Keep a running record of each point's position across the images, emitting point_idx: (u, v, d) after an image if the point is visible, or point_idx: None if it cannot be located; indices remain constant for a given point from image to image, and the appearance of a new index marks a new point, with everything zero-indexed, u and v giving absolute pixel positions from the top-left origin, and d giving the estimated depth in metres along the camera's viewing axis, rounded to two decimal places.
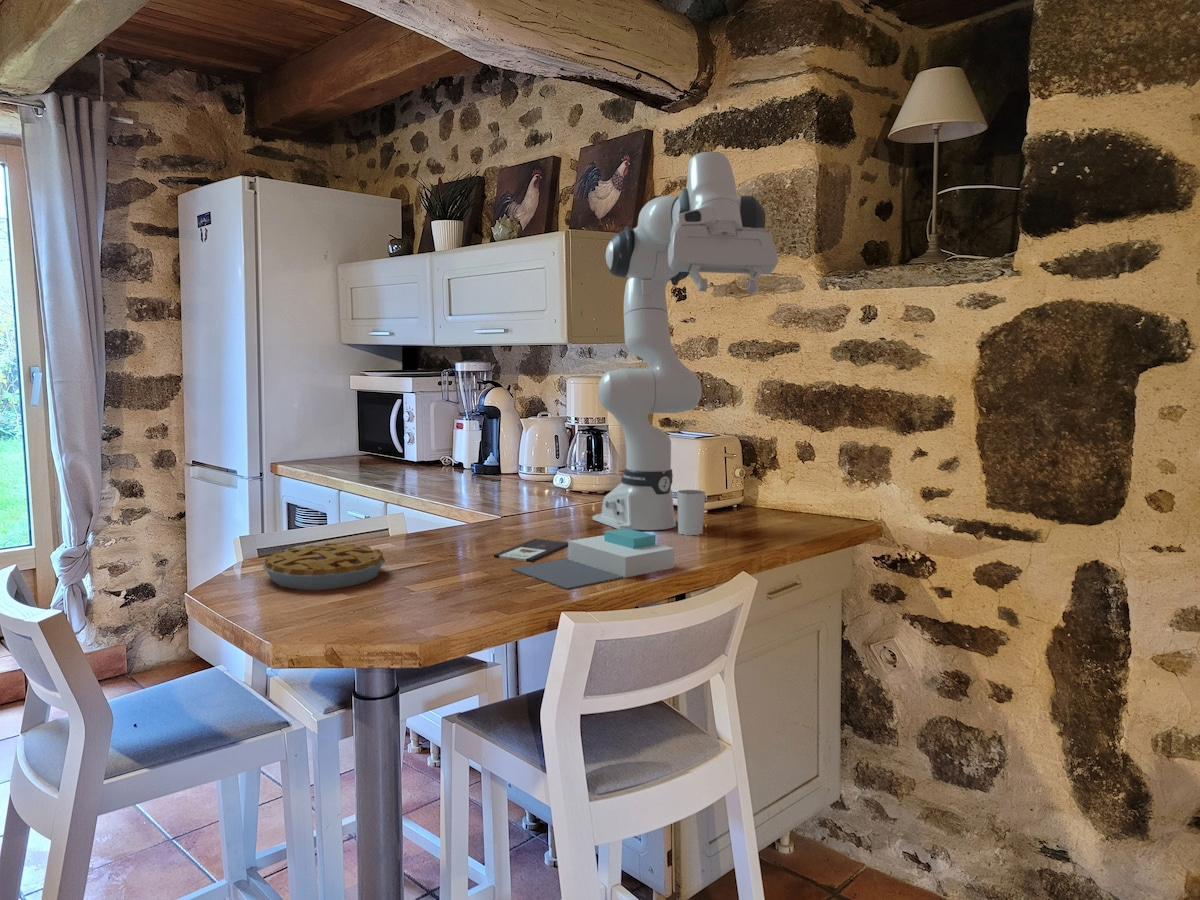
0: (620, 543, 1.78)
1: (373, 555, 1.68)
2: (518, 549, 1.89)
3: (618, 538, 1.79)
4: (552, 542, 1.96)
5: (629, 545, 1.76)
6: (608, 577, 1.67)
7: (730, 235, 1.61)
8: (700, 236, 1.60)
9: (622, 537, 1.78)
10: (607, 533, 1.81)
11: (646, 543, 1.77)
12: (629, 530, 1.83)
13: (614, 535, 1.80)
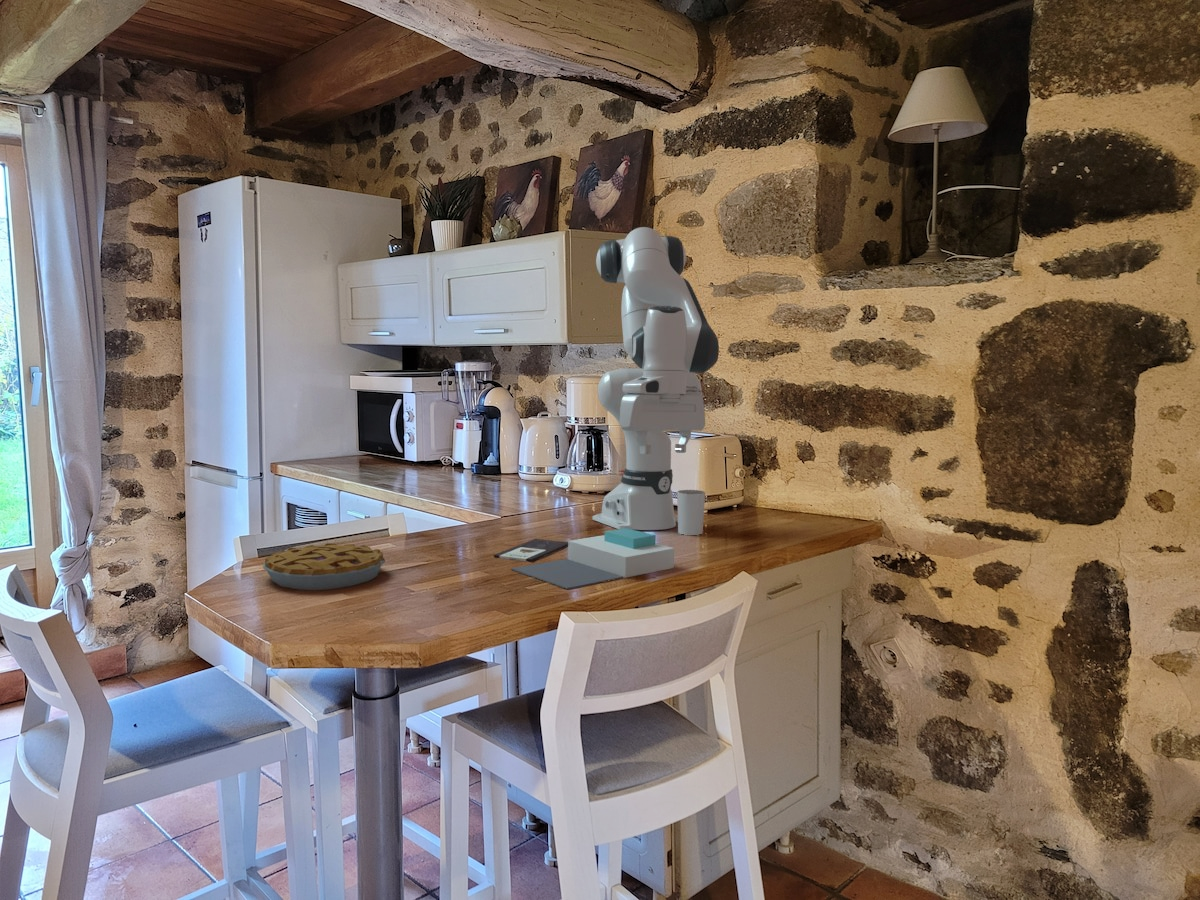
0: (620, 543, 1.78)
1: (373, 555, 1.68)
2: (518, 549, 1.89)
3: (618, 538, 1.79)
4: (552, 542, 1.96)
5: (629, 545, 1.76)
6: (608, 577, 1.67)
7: (675, 402, 1.78)
8: (652, 403, 1.75)
9: (622, 537, 1.78)
10: (607, 533, 1.81)
11: (646, 543, 1.77)
12: (629, 530, 1.83)
13: (614, 535, 1.80)
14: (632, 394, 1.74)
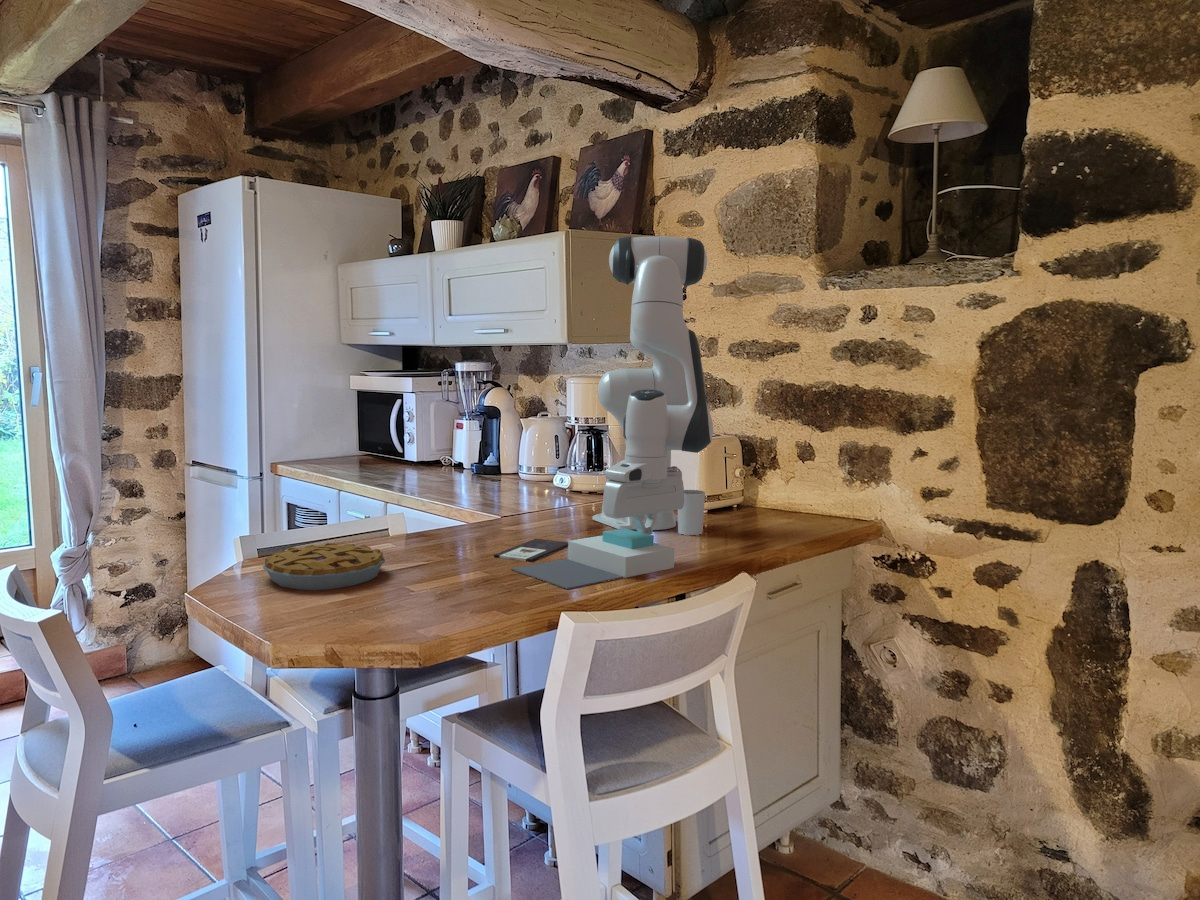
0: (618, 543, 1.78)
1: (373, 555, 1.68)
2: (518, 549, 1.89)
3: (616, 538, 1.78)
4: (553, 542, 1.96)
5: (627, 545, 1.76)
6: (608, 577, 1.67)
7: None
8: (635, 489, 1.78)
9: (620, 537, 1.77)
10: (605, 533, 1.81)
11: (644, 544, 1.77)
12: (627, 530, 1.83)
13: (612, 535, 1.79)
14: (615, 481, 1.76)
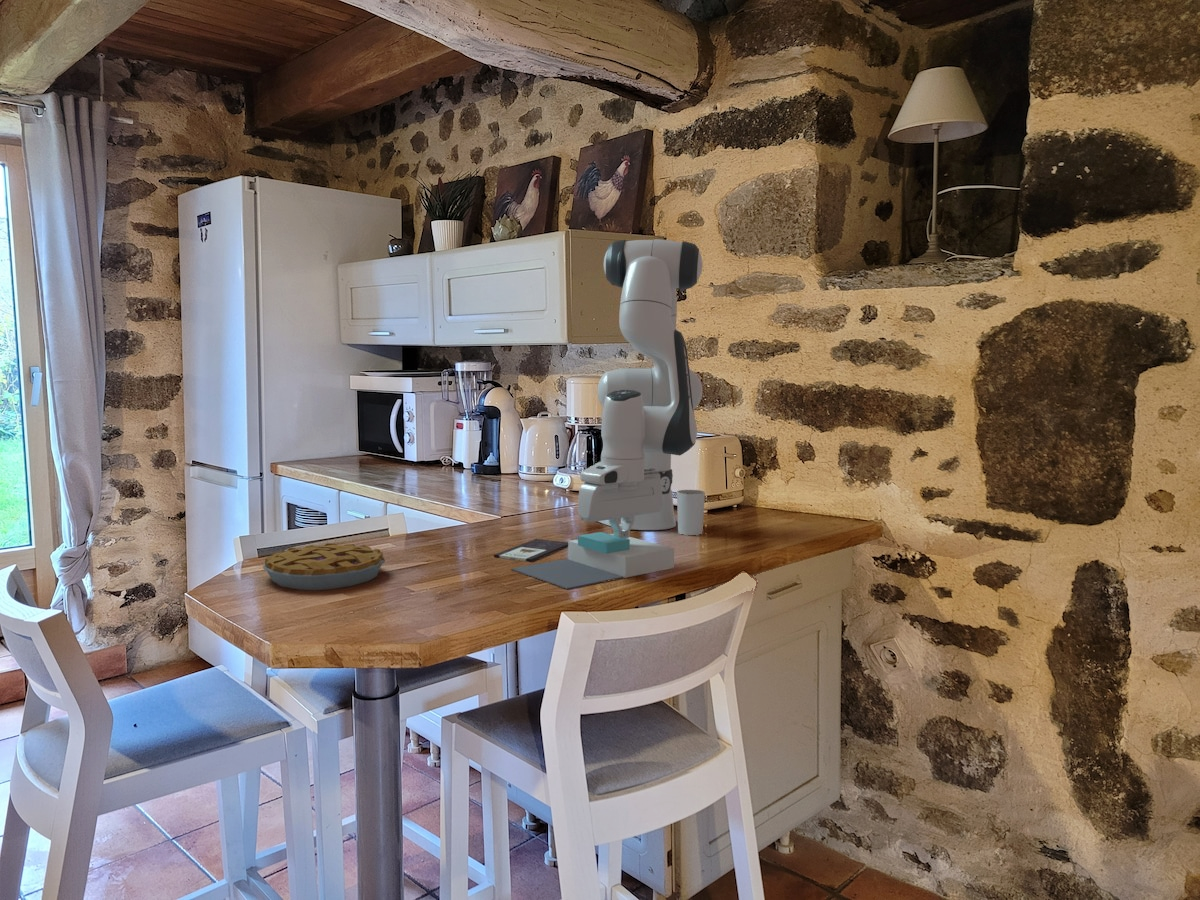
0: (593, 547, 1.74)
1: (373, 555, 1.68)
2: (518, 549, 1.89)
3: (591, 542, 1.74)
4: (553, 542, 1.96)
5: (602, 550, 1.72)
6: (608, 577, 1.67)
7: None
8: (611, 492, 1.73)
9: (595, 541, 1.73)
10: (580, 537, 1.77)
11: (620, 548, 1.73)
12: (603, 534, 1.79)
13: (587, 539, 1.75)
14: (590, 484, 1.72)
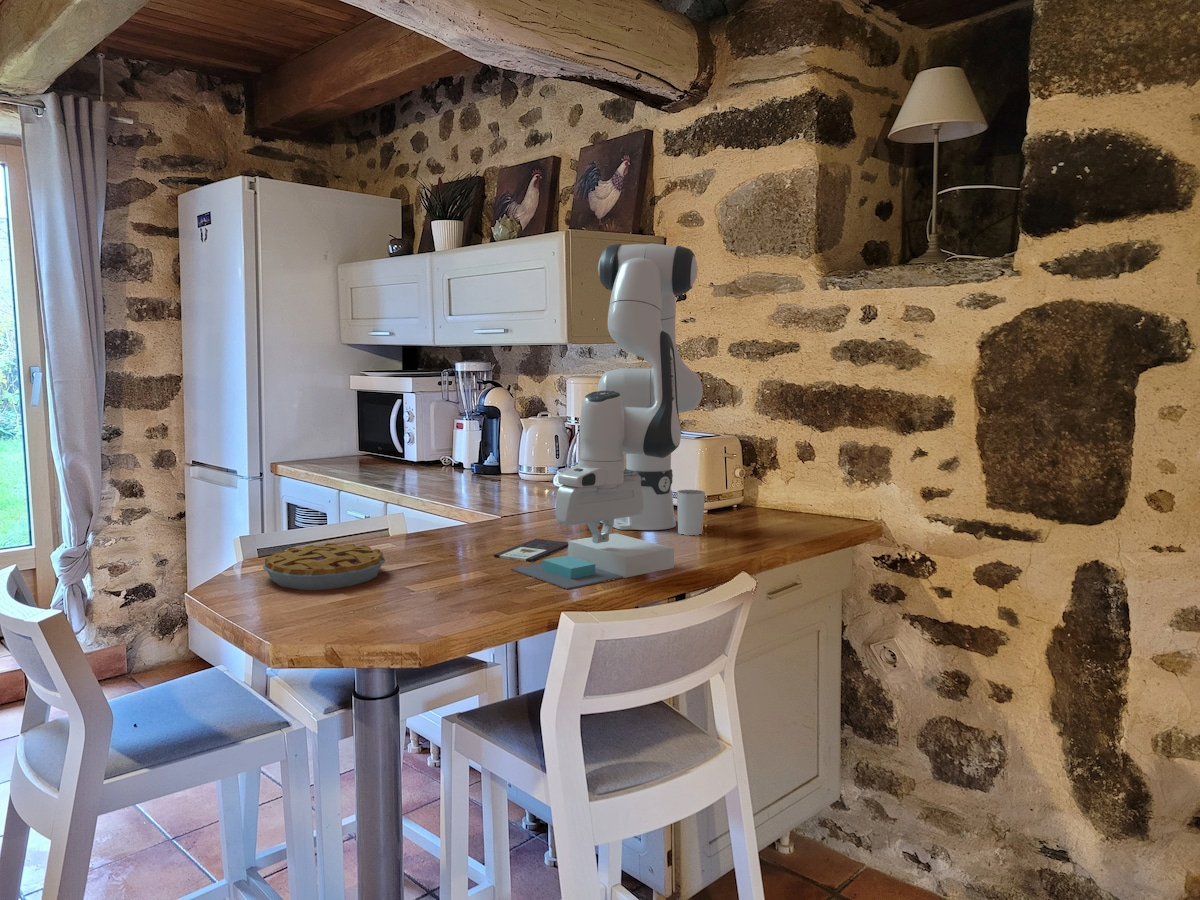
0: None
1: (373, 555, 1.68)
2: (519, 549, 1.89)
3: None
4: (553, 542, 1.96)
5: None
6: (608, 577, 1.67)
7: None
8: (589, 494, 1.70)
9: None
10: None
11: (581, 569, 1.67)
12: None
13: None
14: (568, 487, 1.69)
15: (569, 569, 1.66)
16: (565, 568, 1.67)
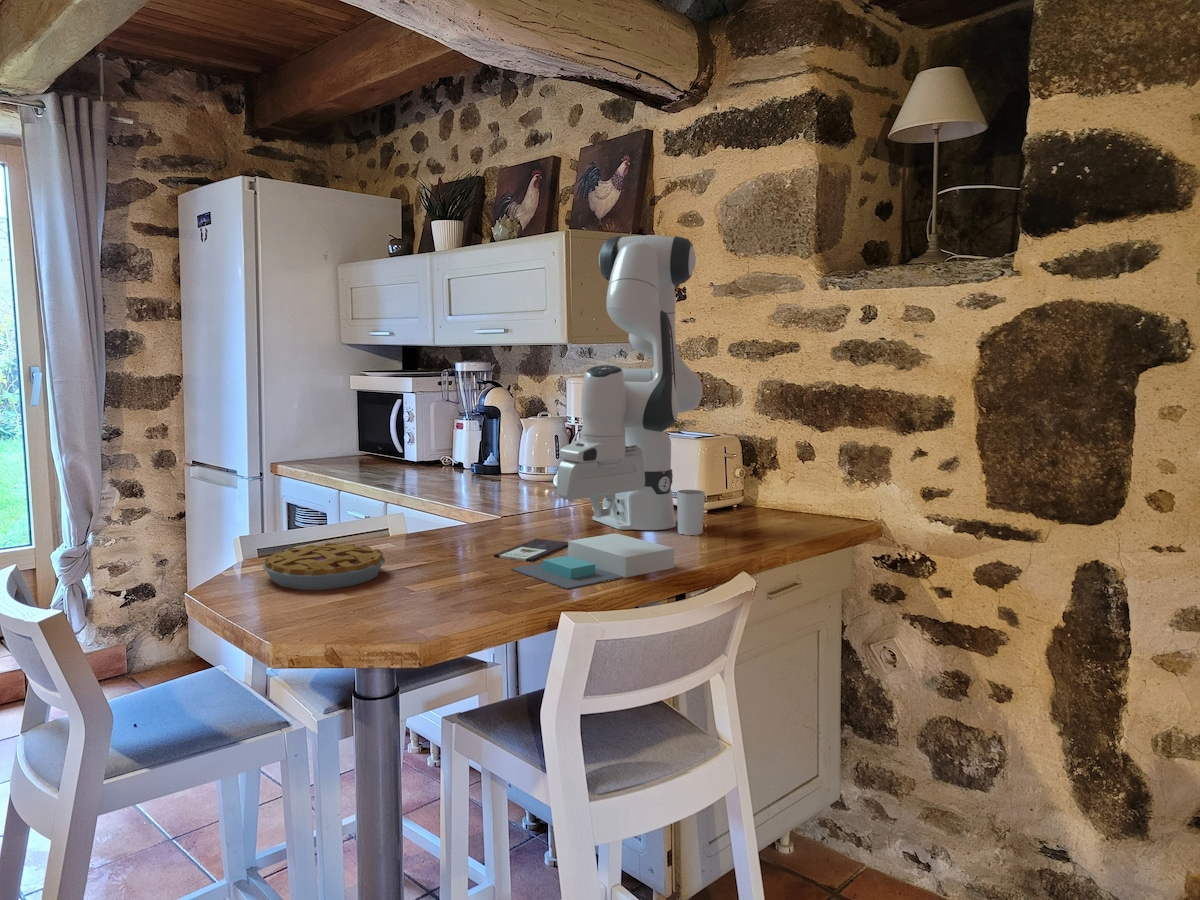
0: None
1: (373, 555, 1.68)
2: (519, 549, 1.89)
3: None
4: (553, 542, 1.96)
5: None
6: (608, 577, 1.67)
7: None
8: (590, 469, 1.71)
9: None
10: None
11: (581, 569, 1.67)
12: None
13: None
14: (569, 462, 1.69)
15: (569, 569, 1.66)
16: (565, 568, 1.67)
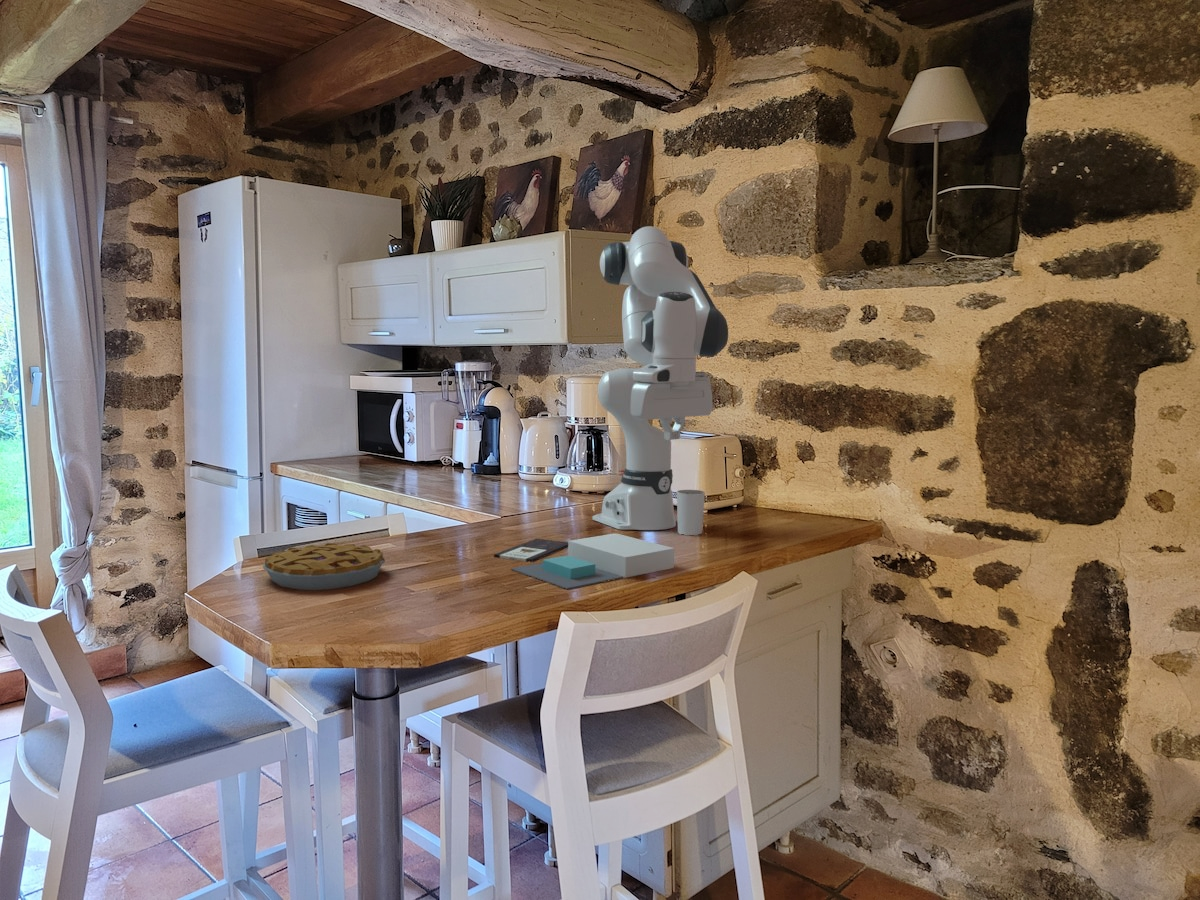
0: None
1: (373, 555, 1.68)
2: (519, 549, 1.89)
3: None
4: (553, 542, 1.96)
5: None
6: (608, 577, 1.67)
7: None
8: (663, 391, 1.76)
9: None
10: None
11: (581, 569, 1.67)
12: None
13: None
14: (643, 383, 1.75)
15: (569, 569, 1.66)
16: (565, 568, 1.67)
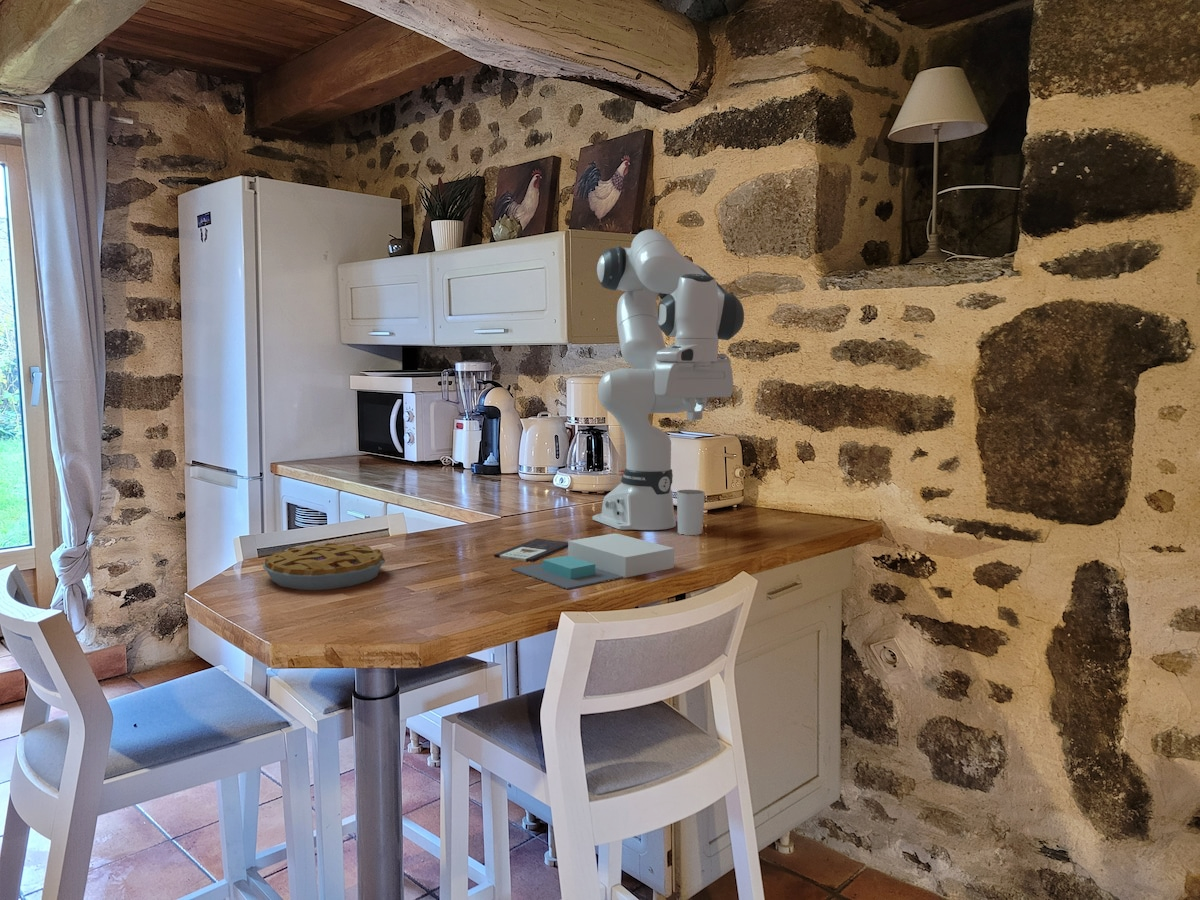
0: None
1: (373, 555, 1.68)
2: (519, 549, 1.89)
3: None
4: (554, 542, 1.96)
5: None
6: (608, 577, 1.67)
7: (707, 369, 1.82)
8: (686, 370, 1.78)
9: None
10: None
11: (581, 569, 1.67)
12: None
13: None
14: (667, 362, 1.77)
15: (569, 569, 1.66)
16: (565, 568, 1.67)
